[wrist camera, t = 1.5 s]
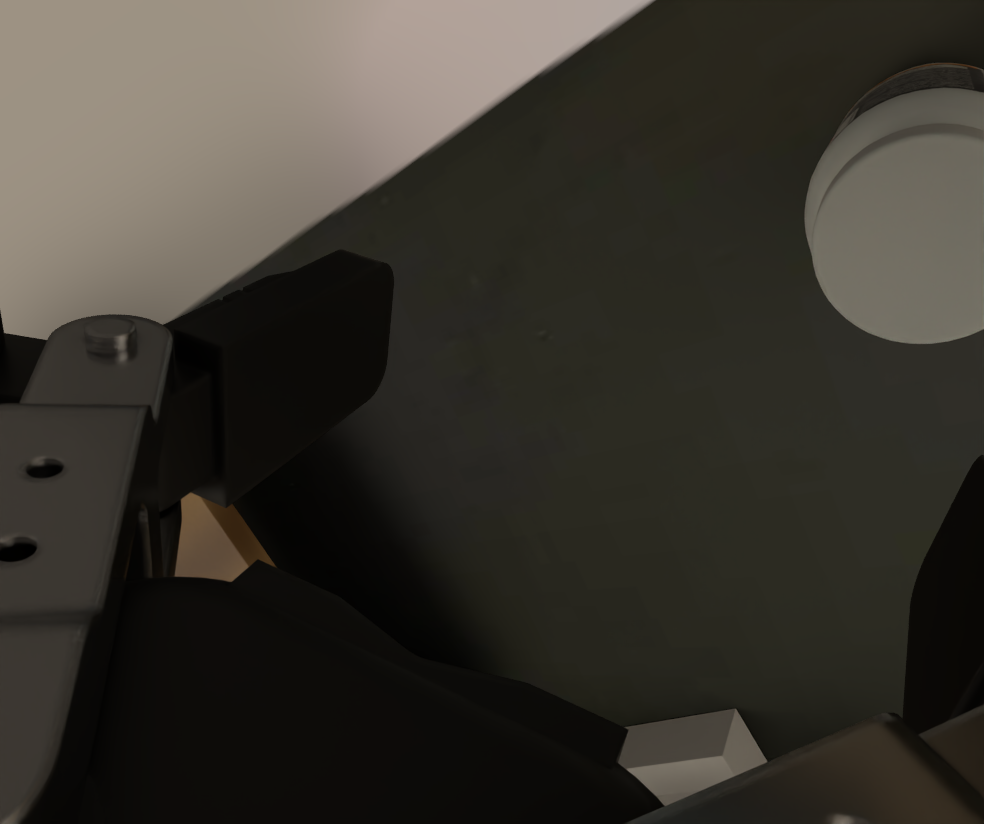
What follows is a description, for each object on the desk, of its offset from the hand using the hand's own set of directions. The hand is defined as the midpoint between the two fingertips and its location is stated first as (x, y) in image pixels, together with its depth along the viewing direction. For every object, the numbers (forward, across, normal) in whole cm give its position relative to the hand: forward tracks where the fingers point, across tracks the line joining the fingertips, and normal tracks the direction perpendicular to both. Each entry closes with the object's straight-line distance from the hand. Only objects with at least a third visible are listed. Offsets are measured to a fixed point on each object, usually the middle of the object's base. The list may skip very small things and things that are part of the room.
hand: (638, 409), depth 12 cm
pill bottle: (+20, -3, 0) cm, 21 cm away
